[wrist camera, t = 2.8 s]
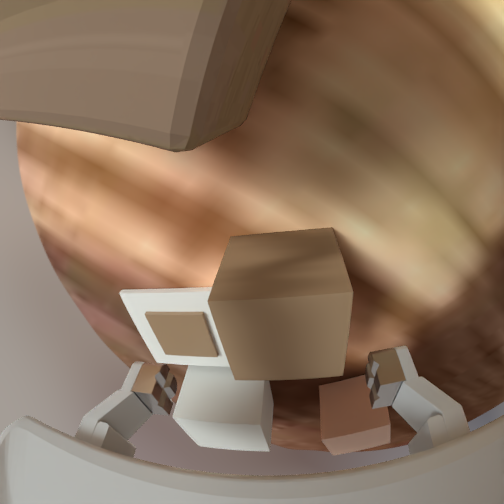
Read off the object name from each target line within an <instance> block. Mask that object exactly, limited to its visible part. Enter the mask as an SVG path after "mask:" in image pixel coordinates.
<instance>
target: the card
mask: <svg viewBox="0 0 504 504" xmlns="http://www.w3.org/2000/svg"><path fill="white" fill-rule="evenodd" d="M211 289H212V287H198V288H171V289H132V290H121V292H120V293H119V294H120V296H121V298H122V300H123V302H124V304H125V306H126V308H127V310H128V312H129V314H130V316H131V318H132V319H133V321H134V323H135V325H136V327H137V329H138V331H139V332H140V334H141V336H142V338H143V340H144V341H145V343H146V345H147V347H148V348H149V350H150V352H151V353H152V355H153V357H154V358H155V360H156V362H158V363H169V364H181V365H197V366H221V367H230V365H229V363H228V360H227V357H226V354H225V352H224V349H223V346H222V343H221V340H220V338H219V335H218V332H217V329H216V326H215V323H214V320H213V317H212V314H211V311H210V308H209V305H208V302H207V301H208V298H209V295H210V292H211Z"/></svg>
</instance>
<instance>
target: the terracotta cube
mask: <svg viewBox="0 0 504 504" xmlns="http://www.w3.org/2000/svg"><path fill="white" fill-rule="evenodd" d="M370 391H371V389H370V388H368V387H367V384H366V377H365V375H361V376H358V377H354V378H350V379H346V380H342V381H338V382H334V383H330V384H325V385H321V386H319V395H320V418H321V440H322V442H323V443H324V444H325V446H326V447H327V448H328V450H329V451H330V452H331V453H332V455H338V454H344V453H349V452H354V451H359V450H363V449H367V448H372V447H376V446H379V445H383V444H387V443H390V419H389V413H388V408H387V406H386V407H380V408H375V409H372V407H371V402H370V398H369V394H370Z"/></svg>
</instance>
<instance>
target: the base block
mask: <svg viewBox="0 0 504 504" xmlns="http://www.w3.org/2000/svg"><path fill="white" fill-rule="evenodd" d="M273 407H274V402H273V397H272V393H271V388H270V383H269V380H235V379H234V376H233V373H232V371H231V368H230V367H221V366H197V365H189V366H188V369H187V372H186V375H185V378H184V381H183V385H182V388H181V391H180V394H179V397H178V401H177V404H176V407H175V410H174V414H173V418H174V420H175V421H176V422H177V423H178V424H179V425H180V426H181V427H182V428H183V430H184V431H185V432H186V433H187V434H188V435H189V436H190V437H191V438H192V439H193V440H194V441H195V442H196V443H197V444H198V445H199V446H203V447H211V448H220V449H231V450H246V451H270V445H271V433H272V420H273Z"/></svg>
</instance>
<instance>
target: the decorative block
mask: <svg viewBox="0 0 504 504" xmlns="http://www.w3.org/2000/svg"><path fill="white" fill-rule="evenodd" d="M290 2H291V0H0V120H9V121H18V122H27V123H35V124H42V125H49V126H56V127H62V128H68V129H74V130H79V131H85V132H90V133H95V134H100V135H105V136H110V137H115V138H119V139H124V140H128V141H133V142H137V143H141V144H145V145H149V146H153V147H157V148H161V149H165V150H169V151H173V152H180V151H188V150H193V149H195V148H197V147H198V146H200V145H202V144H204V143H206V142H208V141H210V140H212V139H214V138H216V137H218V136H220V135H222V134H224V133H226V132H228V131H230V130H232V129H234V128H236V127H238V126H240V125H241V124H242V123H243V122H244V121H245V120H246V118H247V115H248V112H249V109H250V107H251V104H252V101H253V98H254V95H255V92H256V89H257V87H258V84H259V81H260V78H261V76H262V73H263V70H264V67H265V65H266V62H267V59H268V57H269V54H270V51H271V49H272V46H273V44H274V41H275V39H276V36H277V33H278V31H279V28H280V26H281V23H282V21H283V19H284V16H285V14H286V11H287V9H288V6H289V4H290Z"/></svg>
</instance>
